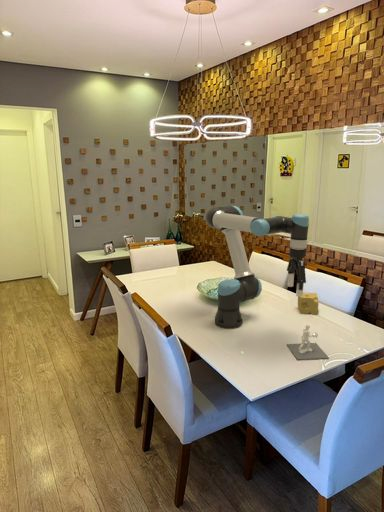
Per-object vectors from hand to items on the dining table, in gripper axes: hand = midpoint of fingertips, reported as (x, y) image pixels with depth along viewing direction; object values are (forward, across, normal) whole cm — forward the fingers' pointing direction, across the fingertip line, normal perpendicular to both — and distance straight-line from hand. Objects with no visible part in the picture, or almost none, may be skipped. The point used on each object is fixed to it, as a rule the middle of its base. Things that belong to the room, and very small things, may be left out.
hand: (294, 291), depth 169 cm
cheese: (+25, +33, -20) cm, 46 cm away
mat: (+23, -16, -2) cm, 28 cm away
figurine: (+23, -16, -2) cm, 28 cm away
